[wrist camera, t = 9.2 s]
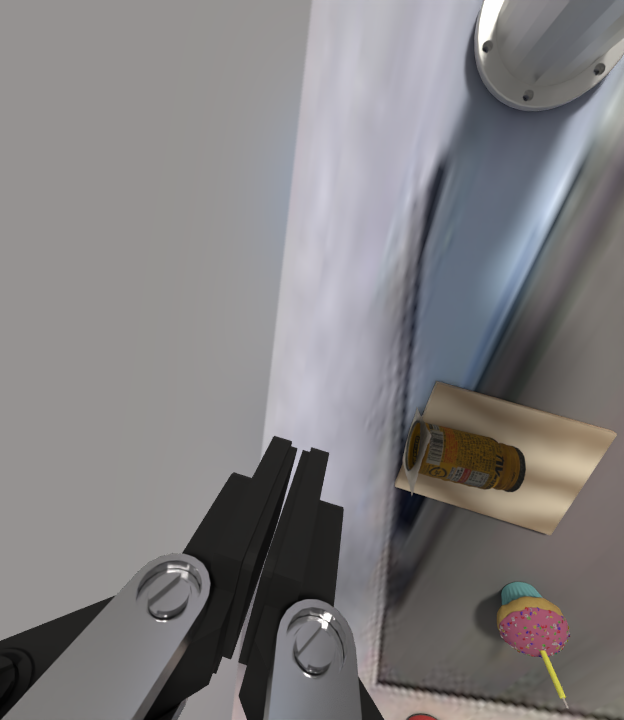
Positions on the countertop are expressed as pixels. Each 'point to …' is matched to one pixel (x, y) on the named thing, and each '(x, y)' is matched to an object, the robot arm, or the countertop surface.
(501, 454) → the condiment
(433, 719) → the beer can
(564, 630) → the cupcake
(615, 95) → the countertop surface
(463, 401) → the cutting board
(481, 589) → the countertop surface
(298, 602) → the robot arm
